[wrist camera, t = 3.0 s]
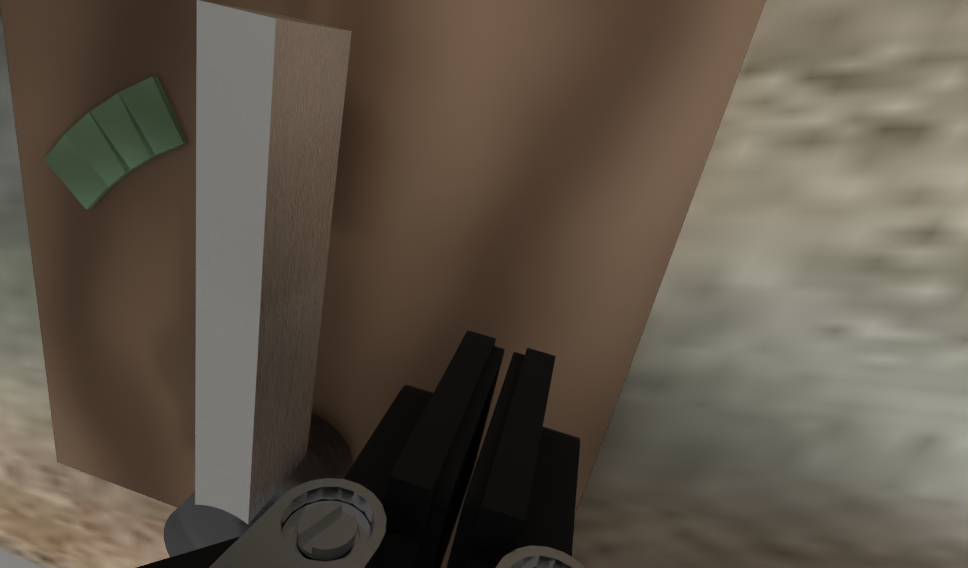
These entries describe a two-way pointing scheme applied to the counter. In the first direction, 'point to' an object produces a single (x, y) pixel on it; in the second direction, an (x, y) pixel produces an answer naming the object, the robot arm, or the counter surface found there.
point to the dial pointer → (260, 264)
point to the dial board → (369, 203)
